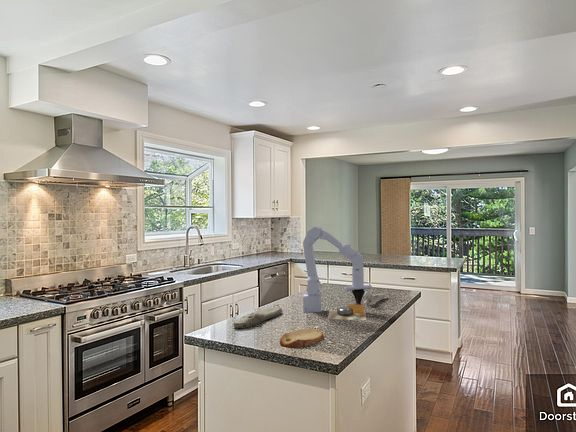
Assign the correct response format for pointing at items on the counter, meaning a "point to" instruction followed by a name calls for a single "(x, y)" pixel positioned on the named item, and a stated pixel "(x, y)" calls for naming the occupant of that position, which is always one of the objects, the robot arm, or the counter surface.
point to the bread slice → (301, 338)
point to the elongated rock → (257, 318)
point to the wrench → (373, 297)
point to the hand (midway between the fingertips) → (358, 304)
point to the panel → (334, 315)
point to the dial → (351, 309)
